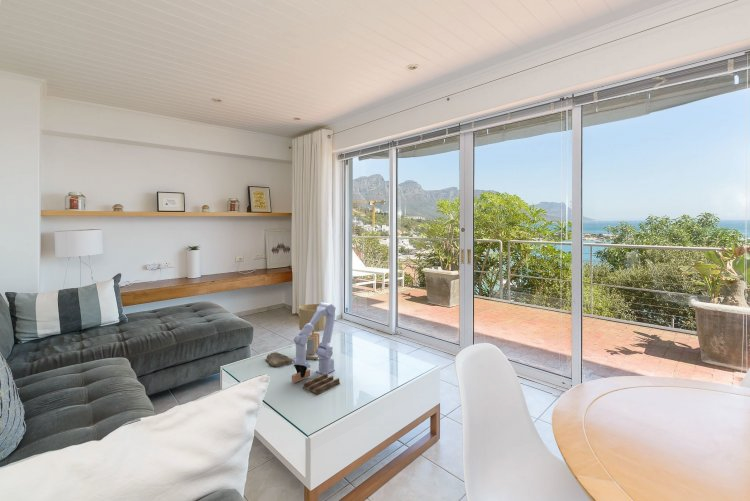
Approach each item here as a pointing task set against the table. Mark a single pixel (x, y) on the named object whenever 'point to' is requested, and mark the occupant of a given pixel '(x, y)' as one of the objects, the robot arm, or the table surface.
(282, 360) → the brown rock
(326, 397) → the table surface
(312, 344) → the desk lamp
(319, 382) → the walnut rack
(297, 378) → the light brown long block
